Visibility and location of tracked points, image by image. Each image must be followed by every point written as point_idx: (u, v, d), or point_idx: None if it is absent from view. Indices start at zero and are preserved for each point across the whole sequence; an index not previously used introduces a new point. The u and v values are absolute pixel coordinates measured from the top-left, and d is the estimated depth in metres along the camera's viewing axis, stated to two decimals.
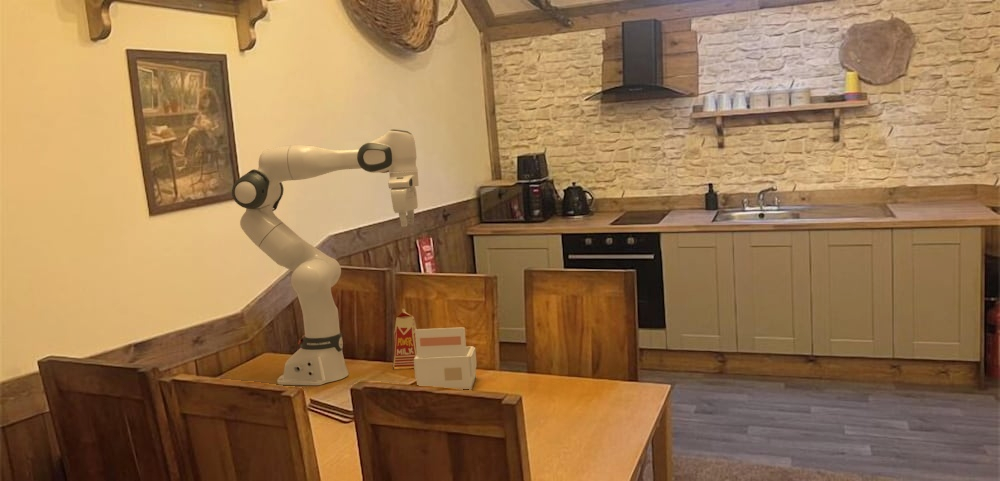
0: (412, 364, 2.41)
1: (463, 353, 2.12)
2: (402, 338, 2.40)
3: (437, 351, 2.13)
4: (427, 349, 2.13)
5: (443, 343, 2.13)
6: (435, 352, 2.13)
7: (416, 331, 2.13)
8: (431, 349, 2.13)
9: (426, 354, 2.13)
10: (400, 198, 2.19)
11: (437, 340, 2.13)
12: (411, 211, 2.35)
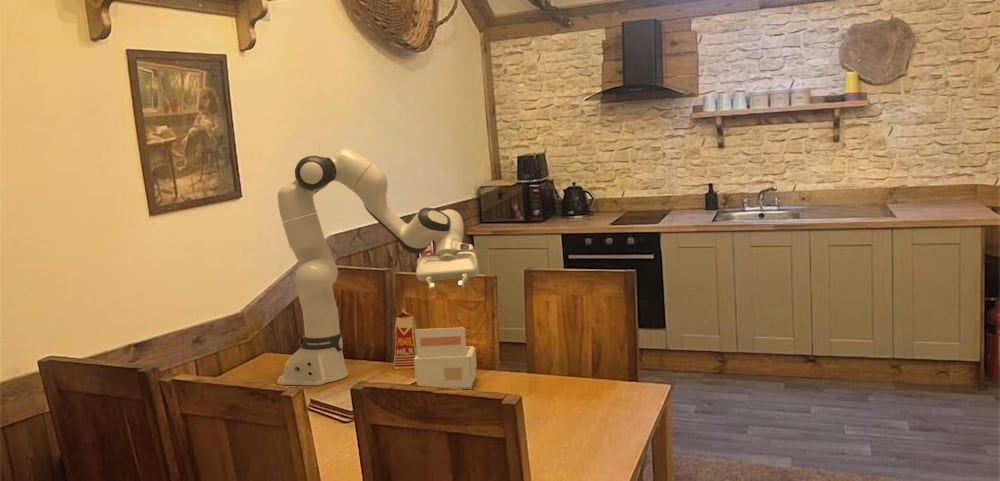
0: (412, 364, 2.41)
1: (463, 353, 2.12)
2: (402, 338, 2.40)
3: (437, 351, 2.13)
4: (427, 349, 2.13)
5: (443, 343, 2.13)
6: (435, 352, 2.13)
7: (416, 331, 2.13)
8: (431, 349, 2.13)
9: (426, 354, 2.13)
10: None
11: (437, 340, 2.13)
12: (431, 280, 2.33)
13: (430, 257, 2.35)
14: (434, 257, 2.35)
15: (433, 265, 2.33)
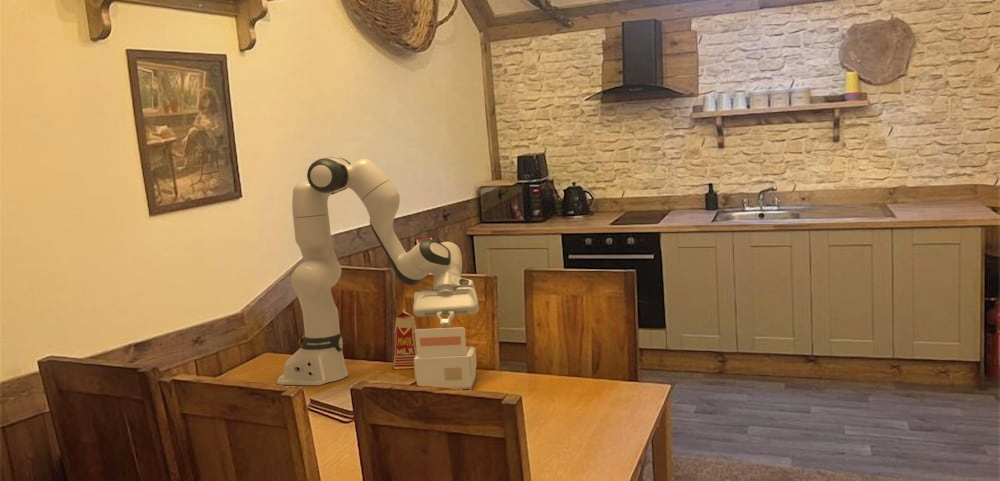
0: (412, 364, 2.41)
1: (463, 353, 2.12)
2: (402, 338, 2.40)
3: (437, 351, 2.13)
4: (427, 349, 2.13)
5: (443, 343, 2.13)
6: (435, 352, 2.13)
7: (416, 331, 2.13)
8: (431, 349, 2.13)
9: (426, 354, 2.13)
10: None
11: (437, 340, 2.13)
12: (442, 315, 2.24)
13: (428, 292, 2.27)
14: (432, 292, 2.27)
15: (431, 300, 2.25)
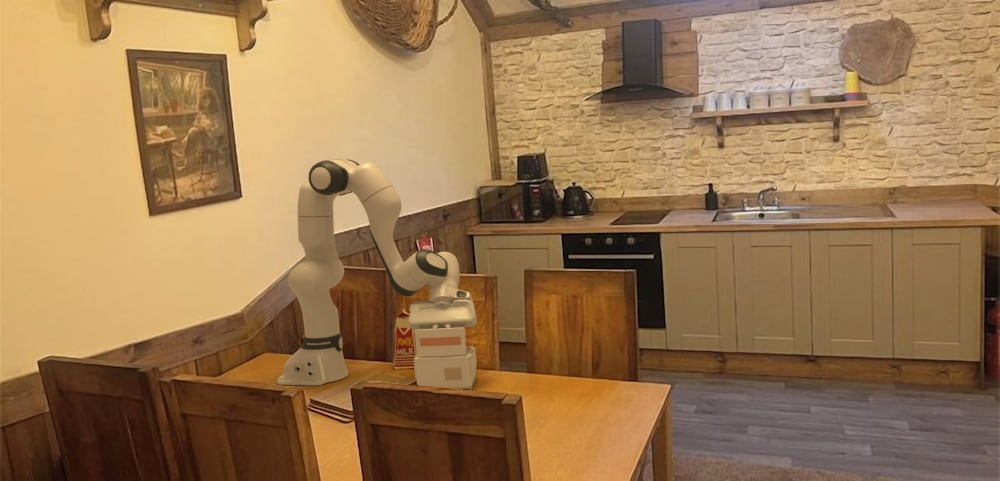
0: (412, 364, 2.41)
1: (463, 353, 2.12)
2: (402, 338, 2.40)
3: (437, 351, 2.13)
4: (427, 349, 2.13)
5: (443, 343, 2.12)
6: (435, 352, 2.13)
7: (416, 331, 2.13)
8: (431, 349, 2.13)
9: (426, 354, 2.13)
10: (475, 312, 2.19)
11: (437, 340, 2.13)
12: (438, 328, 2.17)
13: (424, 304, 2.20)
14: (428, 304, 2.19)
15: (427, 313, 2.18)
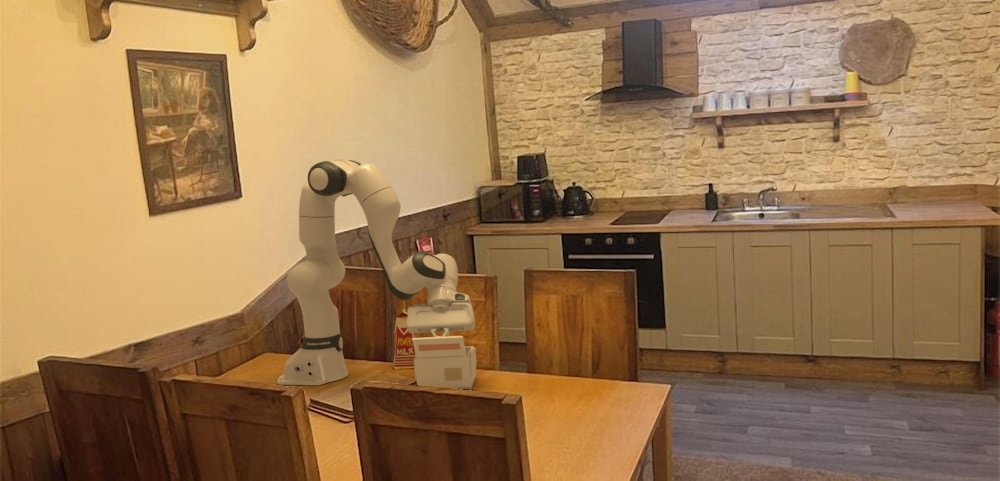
0: (412, 364, 2.41)
1: (463, 354, 2.12)
2: (402, 338, 2.40)
3: (437, 353, 2.12)
4: (426, 352, 2.12)
5: (442, 348, 2.10)
6: (435, 354, 2.12)
7: (413, 340, 2.09)
8: (430, 352, 2.12)
9: (426, 356, 2.13)
10: None
11: (436, 346, 2.10)
12: (436, 332, 2.13)
13: (422, 307, 2.16)
14: (426, 307, 2.16)
15: (425, 316, 2.14)
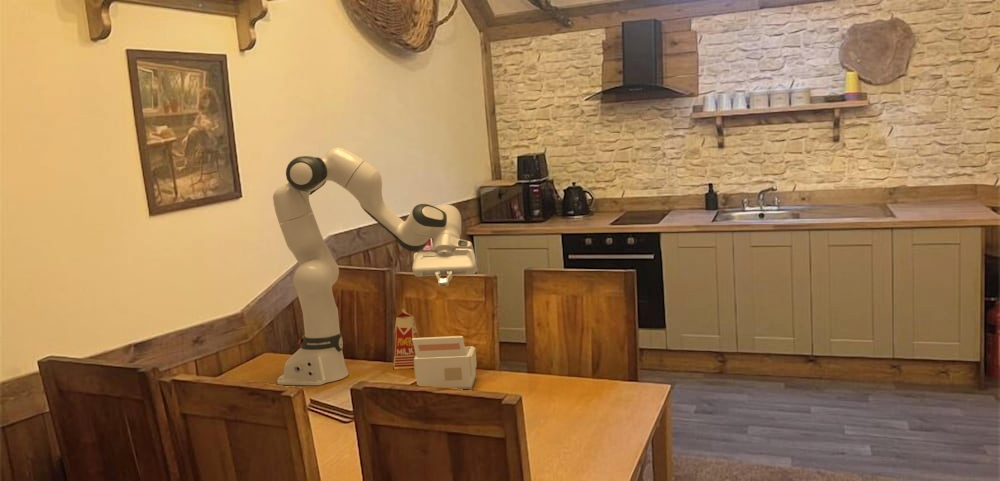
0: (412, 364, 2.41)
1: (463, 354, 2.12)
2: (402, 338, 2.40)
3: (437, 353, 2.12)
4: (426, 352, 2.12)
5: (442, 348, 2.10)
6: (435, 354, 2.12)
7: (413, 340, 2.09)
8: (430, 352, 2.12)
9: (426, 356, 2.13)
10: None
11: (436, 346, 2.10)
12: (440, 275, 2.27)
13: (427, 252, 2.30)
14: (431, 253, 2.30)
15: (430, 261, 2.28)
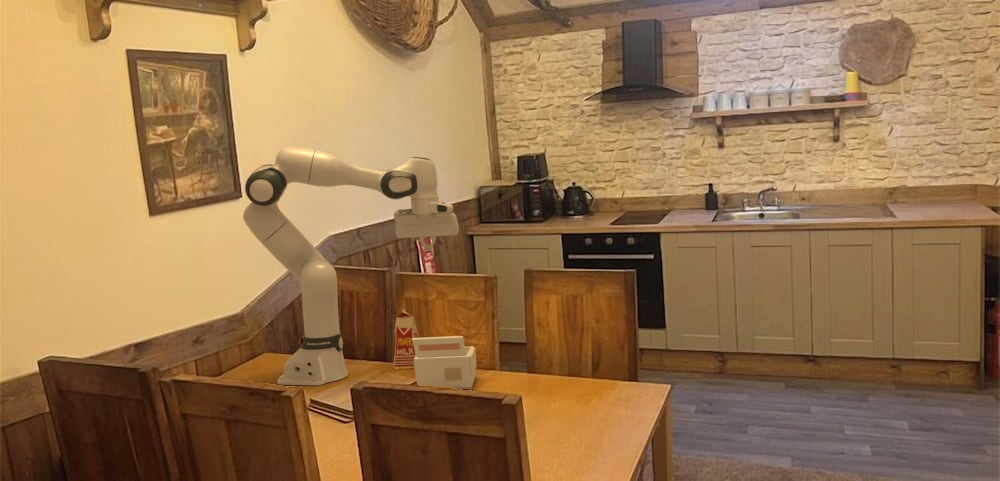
0: (412, 364, 2.41)
1: (463, 354, 2.12)
2: (402, 338, 2.40)
3: (437, 353, 2.12)
4: (426, 352, 2.12)
5: (442, 348, 2.10)
6: (435, 354, 2.12)
7: (413, 340, 2.09)
8: (430, 352, 2.12)
9: (426, 356, 2.13)
10: (456, 221, 2.33)
11: (436, 346, 2.10)
12: (424, 238, 2.34)
13: (407, 216, 2.32)
14: (411, 217, 2.32)
15: (412, 227, 2.32)
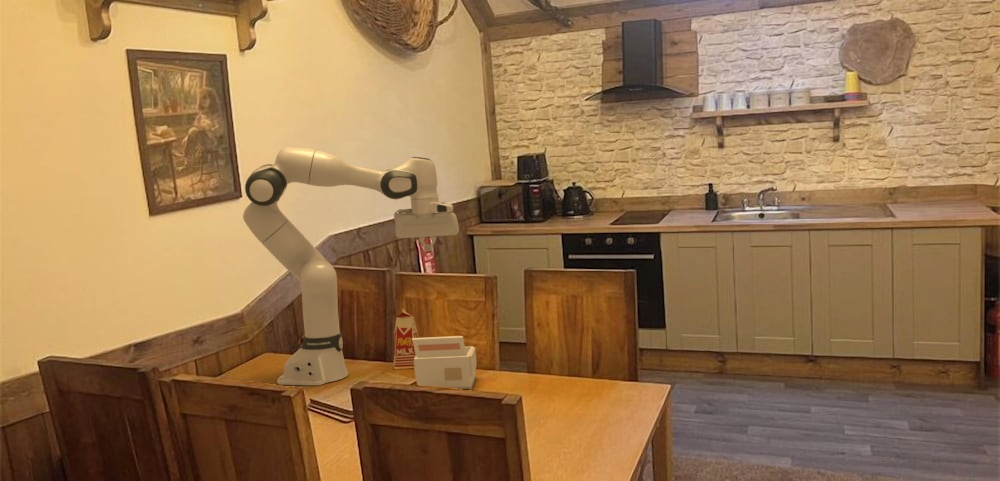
0: (412, 364, 2.41)
1: (463, 354, 2.12)
2: (402, 338, 2.40)
3: (437, 353, 2.12)
4: (426, 352, 2.12)
5: (442, 348, 2.10)
6: (435, 354, 2.12)
7: (413, 340, 2.09)
8: (430, 352, 2.12)
9: (426, 356, 2.13)
10: (456, 221, 2.33)
11: (436, 346, 2.10)
12: (424, 238, 2.34)
13: (407, 216, 2.32)
14: (411, 217, 2.32)
15: (412, 227, 2.32)
